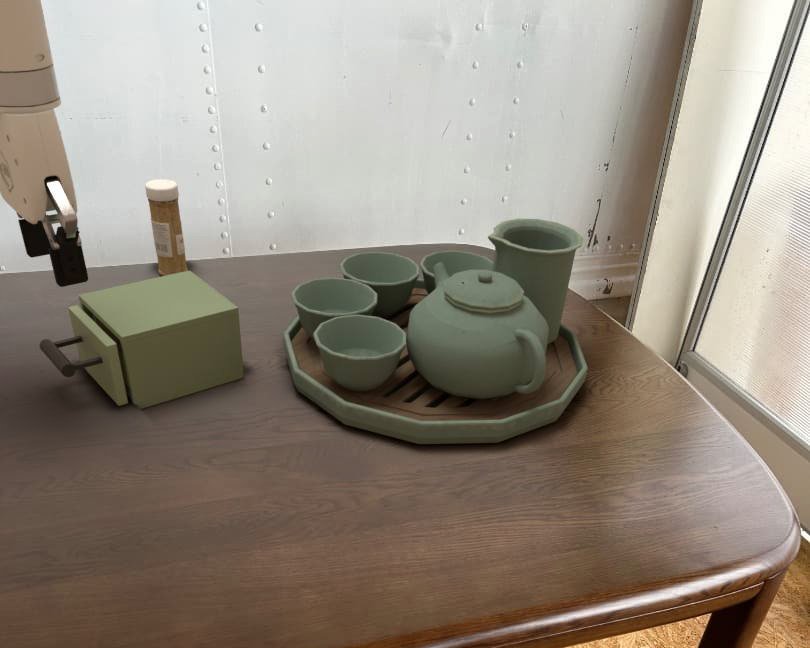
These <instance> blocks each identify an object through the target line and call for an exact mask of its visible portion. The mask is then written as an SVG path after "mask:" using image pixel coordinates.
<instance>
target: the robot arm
mask: <svg viewBox="0 0 810 648" xmlns="http://www.w3.org/2000/svg"><path fill="white" fill-rule="evenodd" d="M48 35H49V34H48V30H47V25H46V20H45V16H44V9H43V5H42V1H41V0H0V196H1V197H2V200H4V202H6V203H7V205H9V207H11V208H12V209H13V210H14V211H15V213H16V215H17V218H18V219H17V221H18V225H19V229H20V233H21V238H22V241H23V245H24V248H25V252H26V255H27V256H28V257H30V258H37V257H38V258H39V257H43V256H48V255H49V258H50V264H51V267H52V271H53V275H54V280H55V283H56V285H57V286H58V287H60V288H64V287H69V286H73V285H77V284H82V283H86V282H88V281H89V275H88V270H87V265H86V260H85V255H84V250H83V244H82V243H83V242H82V239H81V236H80V233H81V232H80V229H79V228H80V227H79V226H78V221H79V219H78V216H77V215H78V214H77V213H78V201H77V197H76V190H75V186H74V181H73V176H72V172H71V168H70V163H69V160H68V156H67V151H66V147H65V144H64V140H63V137H62V131H61V129H60V126H59V122H58V118H57V116H56V115H57V114H56V112H55V109H56V108H58V107H60V106H61V104H62V100H61V94H60V90H59V85H58V80H57V75H56V70H55V65H54V59H53V56H52V55H53V54H52V50H51V46H50V41H49V36H48ZM53 211H56V213H55V214H54V213H53V214H47V212H53ZM54 224H55V225H56V224H60V226H57V227H56V232H55V229H54V227H53V225H54Z"/></svg>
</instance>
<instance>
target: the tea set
mask: <svg viewBox="0 0 810 648" xmlns="http://www.w3.org/2000/svg"><path fill="white" fill-rule="evenodd" d="M487 239H488V240H489V241H490V243H491V244H492V245H493V246H494V256H493V260H491V259H489V258H488V257H486V256H483V255H480V254H478V253H474V252H470V251H461V250H444V251H435V252H432V253H430V254H427V255H425V256H423V258H422V260H421V262H420V263H419V264H417V263H416V262H415V261H414V260H412V259H411V258H409V257H407V256H403V255H400V254H397V253H393V252H384V251H368V252H367V251H366V252H357V253H355V254H352V255H349V256H346V257H345V258H344V259H342V262H341V263H340V264H339V268H340V271H341V273H342V276H343V277H323V278H313V279H311V280H308V281H305V282H302V283H299V284H298V285H297V286H296V287H295V288H294V289H293V291H292V292H291V294H290V295H291V299H292V302H293V305H294V306H295V308H296V310H297V311H296V312H297V316H296V317H295V318H294V319H293V321H292V322H291V323H290V325H289V326H288V327H287V328H286V330H285V331H284V332H283V334H282V336H283V337H282V338H283V348H284V352H285V356H286V359H287V363H288V366H289V370H290V374H291V377H292V381H293V384H294V386H295V388H296V390H297V391H298V392H299V393H301V394H302V395H303V396H304V397H306V398H307V399H309V400H311V402H313V403H314V404H316V405H317V406H319V407H320V408H321V409H323V410H324V411H326V412H327V413H328V414H330V415H331V416H332V417H334V418H335V419H336V420H338V421H339V422H341V423H342V424H344V425H345V426H350V427H353V428H357V429H361V430H364V431H367V432H372V433H375V434H379V435H383V436H387V437H391V438H395V439H398V440H402V441H405V442H409V443H413V444H417V445H443V444H444V445H446V444H491V443H492V444H494V443H495V444H496V443H497V444H498V443H501V442H503V441H506V440H508V439H511V438H514V437H516V436H520V435H522V434H525V433H528V432H531V431H534V430H536V429H539V428H541V427H543V426H546V425H549V424H552V423H555V422H557V420H558V419H559V418H560V417H561V416H562V414H563V413H564V412H565V409H567V407H568V406H569V404H570V403H571V401H572V400H573V399H574V397H576V394H577V393H578V392H579V390H580V388H581V387H582V386H583V384H584V383H585V381H586V378H587V374H588V370H589V368H588V365H587V362H586V359H585V357H584V353H583V351H582V348H581V345H580V343H579V340H578V336H577V334H576V332H574V331H573V330H572V329H571V328H569V327H567V326H566V325H565V324H563V323H562V318H563V313H564V310H565V309H564V308H565V303H566V299H567V295H568V290H569V285H570V280H571V276H572V275H571V274H572V270H573V265H574V260H575V256H576V251H577V250H578V249H580V248H581V247H582V245H583V240H584V237H583V236H582V235H581V234H580V233H579V232H578V231H577V230H576V229H574V228H572V227H570V226H567V225H565V224H562V223H559V222H555V221H550V220H546V219H541V218H513V219H508V220H504V221H501V222H500V223H498V224H497V225H496V226H494V227H493V232H492V233H490V234H489V235H487ZM420 270H421V271H422V272H421V273H422V277H423V278H419V277H420V275H421V274H420Z"/></svg>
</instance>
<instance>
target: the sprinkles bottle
mask: <svg viewBox="0 0 810 648" xmlns="http://www.w3.org/2000/svg"><path fill="white" fill-rule="evenodd" d="M145 195H146V198H147V201H148V203H149V204H148V206H149V213H150V223H151V229H152V235H153V236H152V237H153V241H154V249H155V253H156V258H157V265H158V273H159V276H161V277H162V276H167V275H171V274H176V273H180V272H185V271H189V268H188V266H187V265H188V264H187V258H186V247H185V239H184V232H183V226H182V220H181V214H180V206H179V196H180V194H179V187H178V184H177V182H176V181H174V180H171V179H165V178H163V179H162V178H161V179H160V178H159V179H152V180H149V181H147V182H146V183H145Z"/></svg>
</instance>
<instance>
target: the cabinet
mask: <svg viewBox="0 0 810 648" xmlns="http://www.w3.org/2000/svg"><path fill="white" fill-rule="evenodd" d="M78 300H79V305H80V308H81V309H82V310H83V311H84V312H85V313H86V314H87V315H88V316H89V317H90V318H91V319H92V320H93V321H94V318H93V314H94V315H95V316H96V317H97V318H98V319H99V320H100V321H101V322H102V323H103V324H104V325H105V326H106V327H107V328H108V329H109V330H110V331H111V332H112V333H113V334H114V335H115V336H116V337H117V338H118V339H119V340H120V342H121V347H122V353H123V358H124V363H125V368H126V373H127V378H128V384H129V387H128V386H127V385H126V384H125V383H124V385H125V390H126V395H127V397H129V399H130V400H131V402H132V403H133V405H136V406H137V407H138V408H139V409H140V410H143V409H146V408H149V407H153V406H155V405H159V404H163V403H166V402H169V401H172V400H175V399H179V398H181V397H184V396H185V397H186V396H189V395H192V394H195V393H199V392H201V391H205V390H209V389H211V388H214V387H218V386H222V385H225V384H228V383H231V382H234V381H238V380H241V379H244V377H245V376H244V360H243V349H242V338H241V337H242V335H241V325H240V315H239V313H240V312H239V307H238V306H237V305H236V304H234V303H233V302H231V300H229V299H228V298H227V297H225V296H224V295H222V294H221V293H220V292H219V291H217V290H216V289H214V287H212V286H211V285H210V284H208V283H207V282H205V280H203V279H202V278H200V277H199V276H198V275H197V274H195V273H194V272H193V271H191V270H189V269H188V271H185V272H180V273H176V274H171V275H167V276H162V275H161V276H158V277H154V278H153V277H152V278H149V279H145V280H140V281H135V282H131V283H126V284H122V285H117V286H113V287H108V288H104V289H100V290H99V289H98V290H95V291H91V292H85V293H81V294H78Z"/></svg>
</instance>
